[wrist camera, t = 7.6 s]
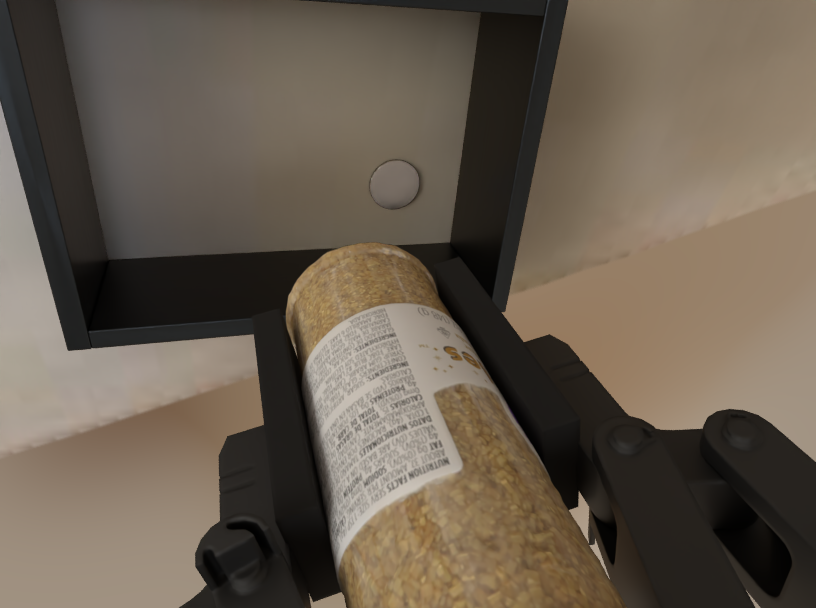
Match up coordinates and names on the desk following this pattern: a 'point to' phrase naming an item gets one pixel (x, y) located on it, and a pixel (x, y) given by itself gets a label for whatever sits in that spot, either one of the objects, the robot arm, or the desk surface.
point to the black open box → (267, 271)
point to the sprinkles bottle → (424, 451)
